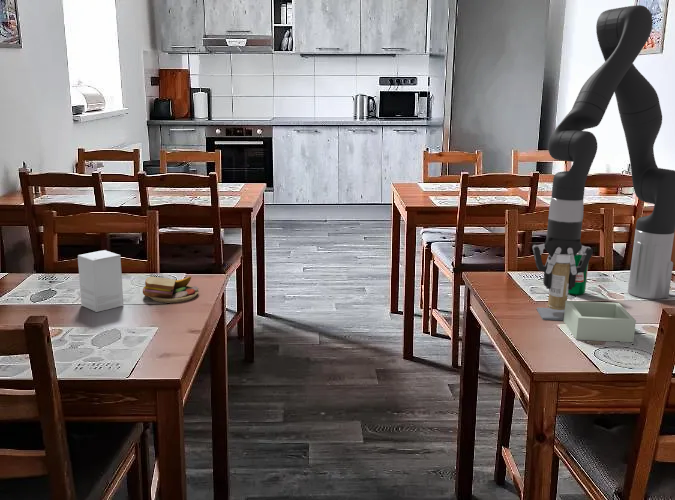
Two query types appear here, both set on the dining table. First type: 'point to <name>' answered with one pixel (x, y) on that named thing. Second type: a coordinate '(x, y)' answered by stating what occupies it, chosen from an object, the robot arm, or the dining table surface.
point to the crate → (599, 321)
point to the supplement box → (100, 280)
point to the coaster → (551, 314)
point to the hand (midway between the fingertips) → (558, 288)
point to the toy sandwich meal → (169, 289)
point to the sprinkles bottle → (559, 282)
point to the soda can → (579, 278)
